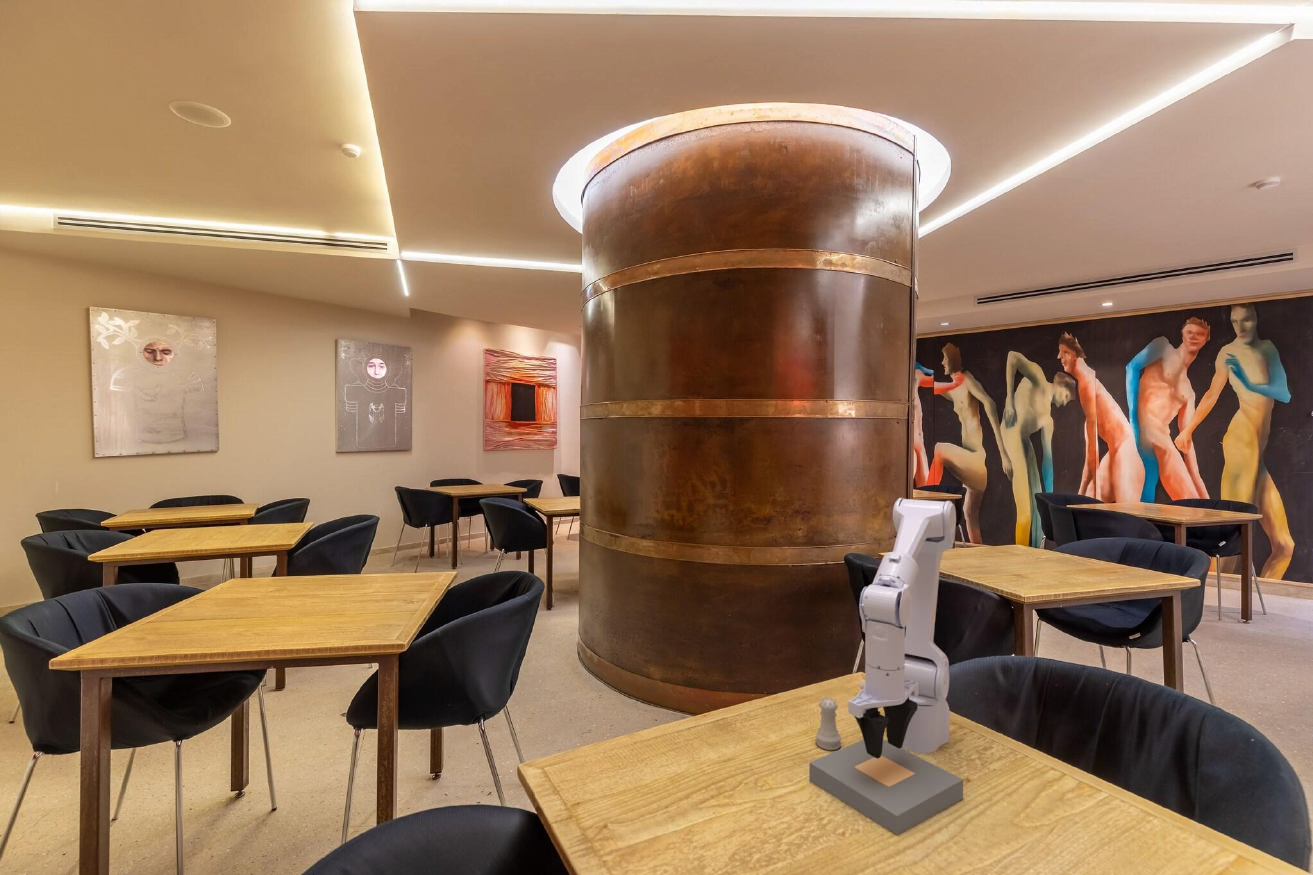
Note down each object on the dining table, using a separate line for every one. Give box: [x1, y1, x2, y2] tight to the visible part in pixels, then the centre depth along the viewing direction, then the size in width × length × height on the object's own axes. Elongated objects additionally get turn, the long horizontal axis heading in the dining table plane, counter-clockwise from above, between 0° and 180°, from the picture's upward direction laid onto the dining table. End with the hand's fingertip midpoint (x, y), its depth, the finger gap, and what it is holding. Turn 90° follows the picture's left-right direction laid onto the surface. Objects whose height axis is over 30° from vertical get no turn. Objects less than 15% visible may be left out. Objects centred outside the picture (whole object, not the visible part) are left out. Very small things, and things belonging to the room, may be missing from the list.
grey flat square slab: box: [808, 738, 964, 836], centre depth 95 cm, size 16×16×3 cm
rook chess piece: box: [815, 696, 842, 751], centre depth 108 cm, size 4×4×8 cm
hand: (884, 750), depth 95 cm, fingers open, 5 cm apart
